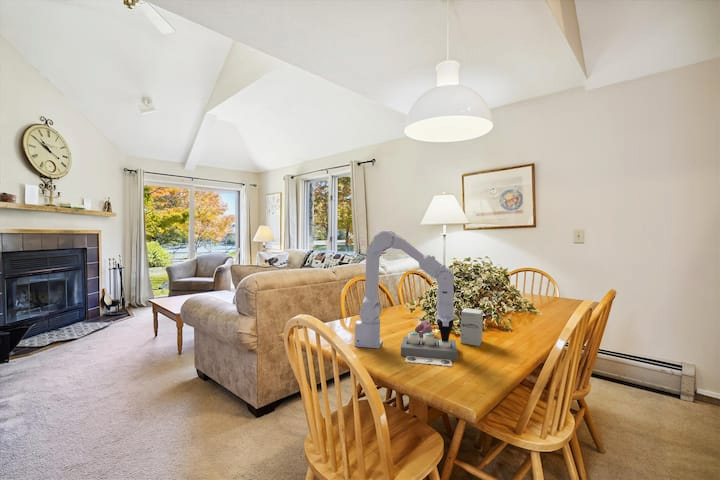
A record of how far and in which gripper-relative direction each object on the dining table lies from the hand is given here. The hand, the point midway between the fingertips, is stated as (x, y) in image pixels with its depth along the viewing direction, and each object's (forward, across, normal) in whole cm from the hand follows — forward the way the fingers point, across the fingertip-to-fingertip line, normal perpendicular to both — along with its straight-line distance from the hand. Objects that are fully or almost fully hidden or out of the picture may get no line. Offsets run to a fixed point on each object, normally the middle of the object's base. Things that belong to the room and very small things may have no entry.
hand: (444, 340), depth 117 cm
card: (+4, -9, +6) cm, 11 cm away
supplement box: (+5, +14, -10) cm, 19 cm away
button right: (+4, 0, 0) cm, 4 cm away
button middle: (+2, 0, +5) cm, 6 cm away
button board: (+4, 0, +6) cm, 7 cm away
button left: (+2, 0, +11) cm, 11 cm away
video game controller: (+5, +19, +8) cm, 22 cm away
